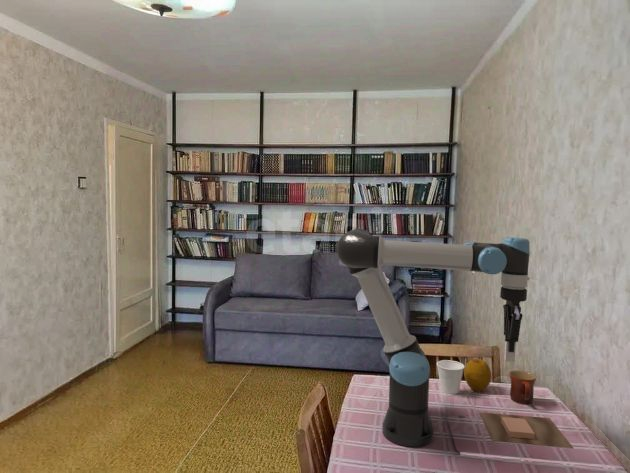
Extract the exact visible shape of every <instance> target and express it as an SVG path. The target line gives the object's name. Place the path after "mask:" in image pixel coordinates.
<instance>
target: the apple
mask: <svg viewBox="0 0 630 473" xmlns="http://www.w3.org/2000/svg"><path fill="white" fill-rule="evenodd" d="M463 376H464V378H465V382H466V384H467V385H468V387H469V389H470V388H471V390H473V391H475V392H483V391H485V390H486V389H487V388H488V386H489V385H490V383H491V380H492V372H491V369H490V366H489V365H488V363H487V362H486V361H485V360H484V359H482V358H475V359H471V360H469V361H468V362H467V363H466V365H465V368H464V370H463Z"/></svg>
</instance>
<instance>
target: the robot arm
mask: <svg viewBox="0 0 630 473" xmlns="http://www.w3.org/2000/svg"><path fill="white" fill-rule="evenodd" d="M530 246H531V245H530V240H529V239H527V238H524V237H504V238H503V241H502V243H493V242H492V243H490V242H476V241H474V242H466V243H464V244H454V243H453V244H451V243H439V242H437V243H436V242H423V241H422V242H421V241H404V240H391V239H389V240H386V239H384V238H383V236H380V235H379V236H377V235H375V236H374V235H373V233H371V232H370V231H368V230H366V229H363V228H355V229H351V230H350V231H347V232H346V233H344V234H343V235H342V236H341V237H340V238H339V240H338V242H337V245H336V253H337V254H336V255H337V257H338V259H339V261H340V262H341V263H342V264H343V265H345V266H347V269H348V272H349V273H350V276H353V277H355V278H356V279H357V281H358V283H359V286H360V288H361V290H362V292H363V295H364V297H365V299H366V302H367V304H368V307H369V309H370V311H371V313H372V316H373V318H374V321H375V323H376V326H377V328H378V329H379V332H380V334H381V337H382V339H383V341H384V347H383V349H382V350H383V353H384V355H385V357H386V360H387V362H388V364H389V366H388V369H389V371H388V372H389V381H388V382H389V383H388V384H389V386H388V387H389V388H388V390H389V391H388V408H387V410H386V414H385V416H384V419H383V422H382V428H381V430H382V435H383V436H384V437H385V439H387V440H389V441H390V442H392V443H394V444H396V445H400V446H403V447H408V448H409V447H413V448H418V447H423V446H426V445H428V444H430V443H431V442H432V441H433V439H434V427H433V423H432V420H431V415H430V414H429V413H430V412H429V396H430V395H429V393H430V392H429V391H430V390H429V388H430V376H431V375H430V374H431V367H430V363H429V360H428V359H427V356H426V354H425V351H423V349H422V348H421V347H420V344H419V341H418V339H417V337H416V335H412V334H410V332H409V330H408V328H407V325H406V323H405V320H404V319H403V317H402V316H403V315H402V314H401V311H400V309H399V307H398V304H397V301H396V299H395V298H394V297H395V296H394V295H393V293H392V291H391V287H390V286H389V283H388V281H387V279H386V277H385V275H384V271H383V270H382V267H383V266H387V267H388V266H390V267H403V268H404V267H406V268H407V267H408V268H419V269H420V268H421V269H435V270H436V269H437V270H451V271H453V270H454V271H463V272H464V271H467V272H476V273H477V272H478V273H484V274H487V275H497V274H500V273H501V275H500V285H501V287H500V291H499V293H500V294H499V295H500V299H501V300H504V301H505V304H503V306H502V308H503V336H504V343H505V344H504V358H503V359H504V360H503V361H504V362H510V363H516V362H515V360H516V359H515V358H516V347H517V345H516V343H518V342H519V337H520V331H521V324H522V320H523V316H524V315H523V313H521V312H522V307H521V305H520V304H521V302H526V301H527V300H528V299H527V298H528V290H527V287H528V281H529V280H530V277H529V262H530V255H531V252H530Z"/></svg>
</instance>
